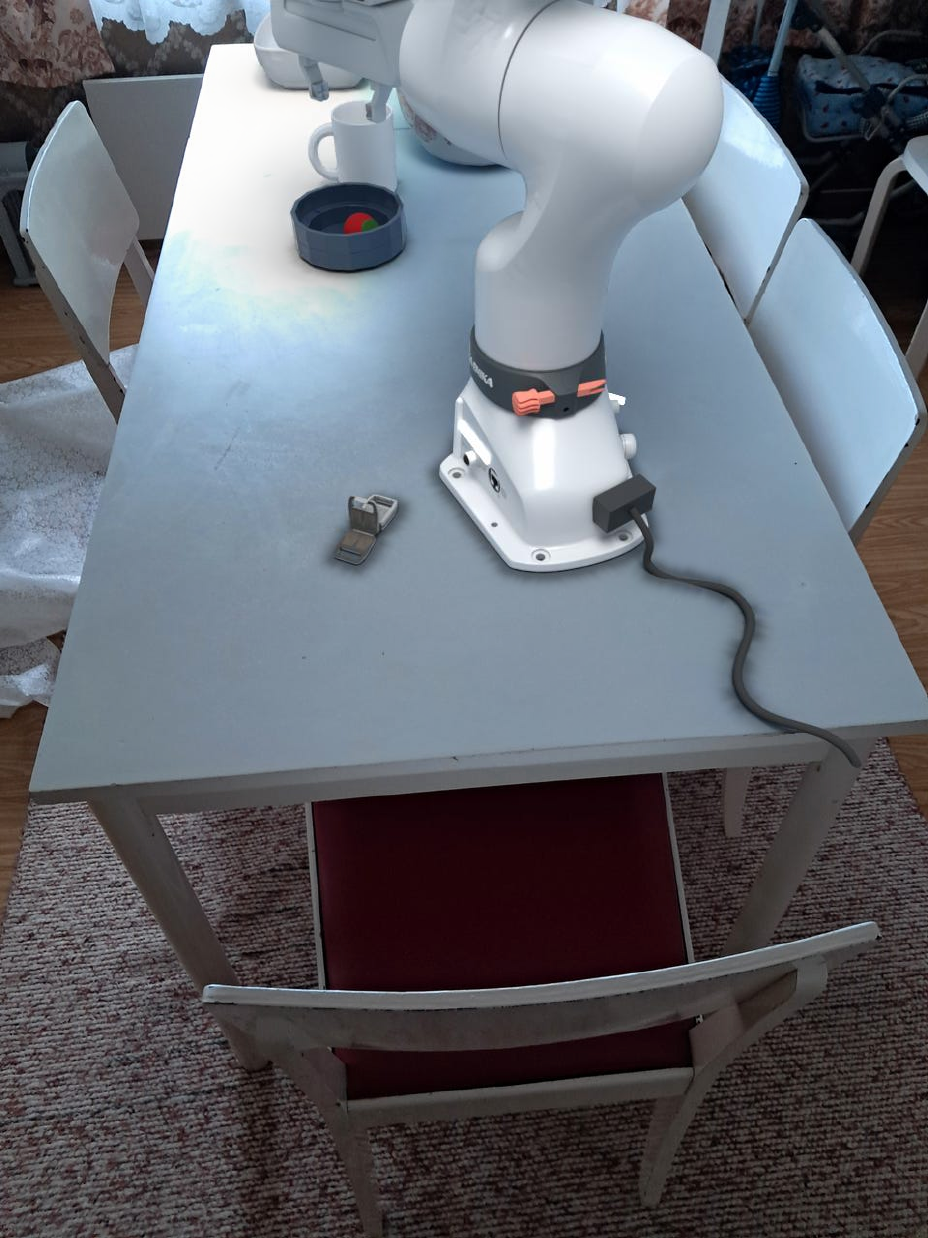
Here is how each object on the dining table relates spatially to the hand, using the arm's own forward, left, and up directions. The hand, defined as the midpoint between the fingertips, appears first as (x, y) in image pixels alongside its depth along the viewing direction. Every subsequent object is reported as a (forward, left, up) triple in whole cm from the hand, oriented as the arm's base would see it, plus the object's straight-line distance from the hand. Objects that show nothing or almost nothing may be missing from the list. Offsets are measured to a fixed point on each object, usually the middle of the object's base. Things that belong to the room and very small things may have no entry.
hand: (347, 109), depth 100 cm
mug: (+17, -3, -17) cm, 24 cm away
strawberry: (+1, +1, -15) cm, 15 cm away
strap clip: (-50, +11, -17) cm, 54 cm away
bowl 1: (+61, -7, -17) cm, 63 cm away
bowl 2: (+2, +1, -17) cm, 17 cm away
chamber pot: (+25, -24, -17) cm, 38 cm away
